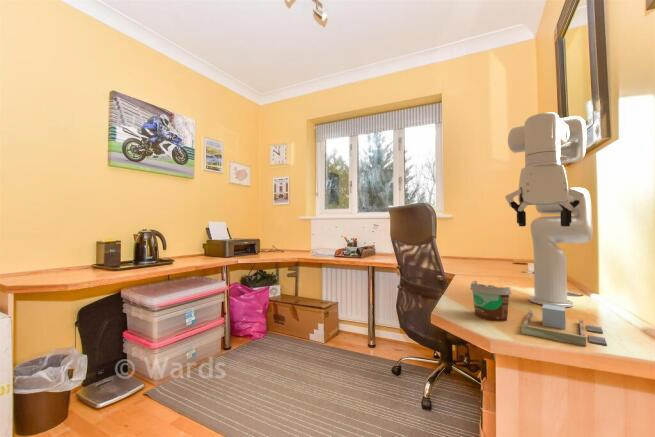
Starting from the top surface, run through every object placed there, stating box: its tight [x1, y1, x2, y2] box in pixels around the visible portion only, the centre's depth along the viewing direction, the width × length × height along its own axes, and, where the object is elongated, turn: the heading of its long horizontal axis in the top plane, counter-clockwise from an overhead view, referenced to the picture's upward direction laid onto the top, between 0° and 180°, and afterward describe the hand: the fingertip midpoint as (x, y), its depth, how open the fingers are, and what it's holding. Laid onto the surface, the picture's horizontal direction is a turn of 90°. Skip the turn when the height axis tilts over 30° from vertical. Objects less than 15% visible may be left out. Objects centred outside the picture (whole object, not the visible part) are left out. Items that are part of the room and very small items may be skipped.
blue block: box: [541, 304, 567, 330], centre depth 82 cm, size 5×5×5 cm
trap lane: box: [520, 310, 608, 347], centre depth 78 cm, size 20×16×2 cm
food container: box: [469, 280, 512, 322], centre depth 89 cm, size 12×6×10 cm, turn 23°
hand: (543, 226), depth 76 cm, fingers open, 9 cm apart
